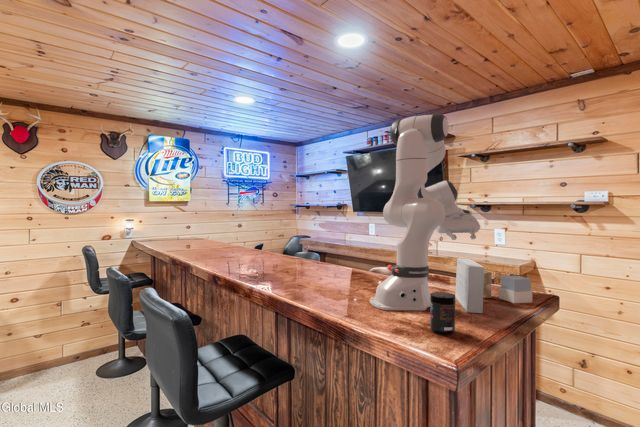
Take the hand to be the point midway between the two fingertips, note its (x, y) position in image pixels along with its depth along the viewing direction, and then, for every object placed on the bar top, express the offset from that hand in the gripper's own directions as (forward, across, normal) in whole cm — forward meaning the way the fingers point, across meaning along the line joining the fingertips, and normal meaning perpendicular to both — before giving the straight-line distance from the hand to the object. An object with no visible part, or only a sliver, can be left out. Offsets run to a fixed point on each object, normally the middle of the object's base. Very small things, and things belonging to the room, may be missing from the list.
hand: (464, 238), depth 147 cm
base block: (+30, +9, +2) cm, 31 cm away
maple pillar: (+24, 0, +7) cm, 25 cm away
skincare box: (+32, -13, 0) cm, 34 cm away
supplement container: (+48, -37, -17) cm, 63 cm away
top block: (+26, +9, -1) cm, 28 cm away
